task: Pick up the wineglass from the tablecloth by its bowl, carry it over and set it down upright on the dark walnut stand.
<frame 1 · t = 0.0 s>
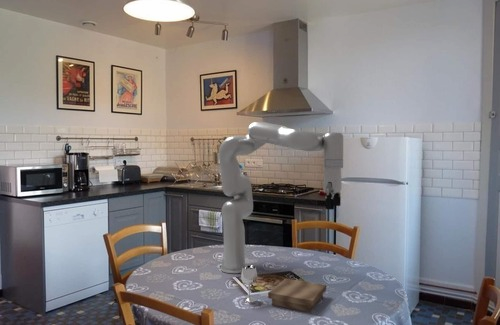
hand: (333, 207, 154), 31 cm above the table, tool pointing down, fingers open, 9 cm apart
wineglass: (249, 300, 141), on the table
stand: (297, 301, 140), on the table
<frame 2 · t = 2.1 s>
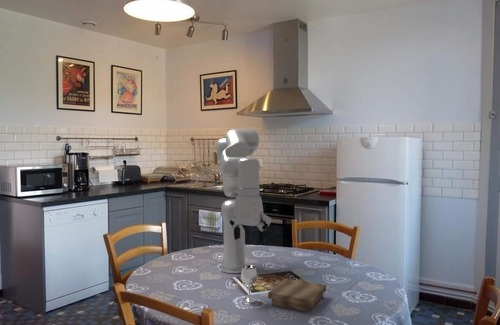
hand: (249, 240, 140), 22 cm above the table, tool pointing down, fingers open, 9 cm apart
nothing on the table moved.
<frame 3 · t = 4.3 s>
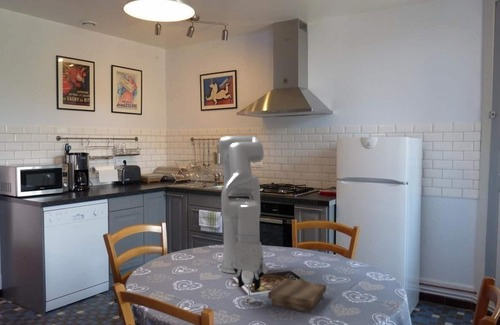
hand: (249, 287, 140), 5 cm above the table, tool pointing down, fingers closed on wineglass, 5 cm apart
wineglass: (249, 300, 141), on the table, touching gripper
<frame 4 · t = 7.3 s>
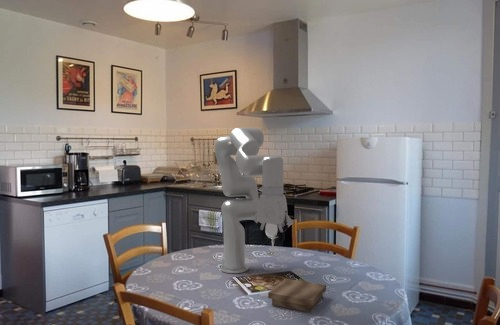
hand: (273, 241, 139), 22 cm above the table, tool pointing down, fingers closed on wineglass, 5 cm apart
wineglass: (272, 254, 139), point 17 cm above the table, touching gripper
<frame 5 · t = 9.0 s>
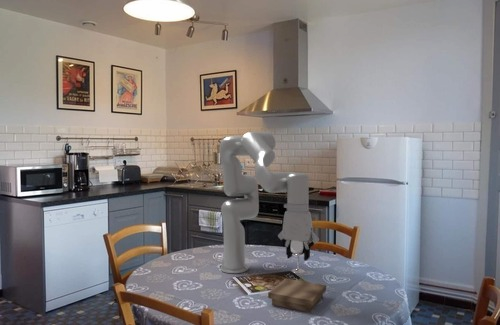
hand: (298, 257, 139), 16 cm above the table, tool pointing down, fingers closed on wineglass, 5 cm apart
wineglass: (298, 271, 139), point 11 cm above the table, touching gripper
when the fingers open (11 cm above the table, at t = 10.3 s): wineglass drops 1 cm, resting on stand.
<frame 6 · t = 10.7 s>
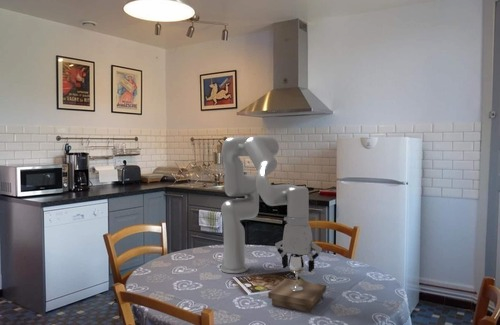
hand: (297, 268, 139), 12 cm above the table, tool pointing down, fingers open, 9 cm apart
wineglass: (296, 289, 140), point 4 cm above the table, touching stand
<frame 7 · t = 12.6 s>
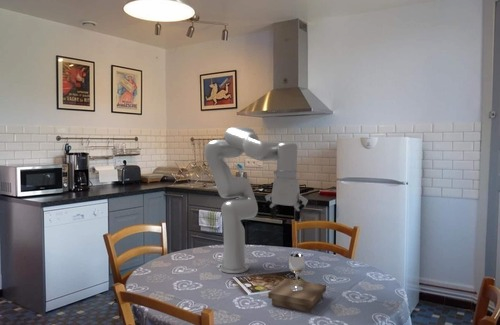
hand: (285, 219, 150), 27 cm above the table, tool pointing down, fingers open, 9 cm apart
nothing on the table moved.
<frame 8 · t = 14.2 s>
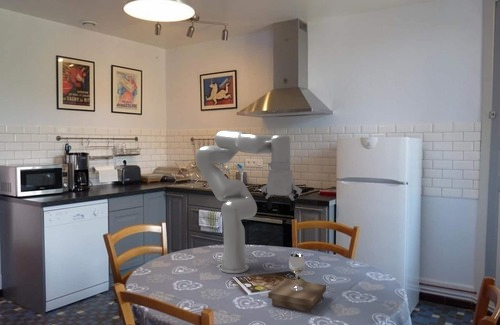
hand: (280, 209, 155), 30 cm above the table, tool pointing down, fingers open, 9 cm apart
nothing on the table moved.
at the end: wineglass inside the target area on the stand (0.4 cm from its centre), point 4.3 cm above the stand's base; wineglass tilted 0°; the gripper is holding nothing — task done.
